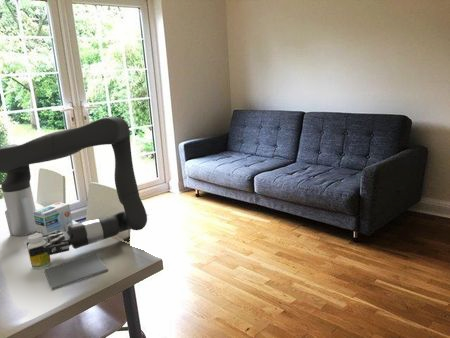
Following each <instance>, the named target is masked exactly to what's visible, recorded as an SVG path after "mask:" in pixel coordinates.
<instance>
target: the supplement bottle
mask: <svg viewBox="0 0 450 338" xmlns="http://www.w3.org/2000/svg"><path fill="white" fill-rule="evenodd" d="M27 240H28V242H29V244H28V246H27V245H26V248H28V249H27V252H28V258H29V261H30V265H31V268H32V269H33V270H39V269H45V268H48V266H49V265H50V264H51V263H52V261H51V255H48V253H47V254H45V253H43V254H39V255H36V256H33V257H31V256H30V254H29V250H30V249H32V248H36V247H39V246H43V245H46V244H47V242H46V241H45V240H43V235H42V234H41V233H38V232H37V233H32V234H29V236H28V237H27Z"/></svg>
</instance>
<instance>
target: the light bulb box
mask: <svg viewBox="0 0 450 338" xmlns="http://www.w3.org/2000/svg"><path fill="white" fill-rule="evenodd" d="M33 213H34V218H35V223H36V227H37V231H36V232H37V233H41V234H42V235H44V234H47V233H50V232H53V231H56V230H60V232H67V231H68V227H69V226H70V225H74V223H73V218H72V213H71V207H70V203H66V202H65V203H64V202H60V201H57V202H55V203H53V204H49V205H46V206H44V207H41V208H39V209H36V210H35V211H33ZM46 240H47V239H46Z"/></svg>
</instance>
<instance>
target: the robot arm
mask: <svg viewBox="0 0 450 338" xmlns="http://www.w3.org/2000/svg"><path fill="white" fill-rule="evenodd" d="M130 132H131V131H130V126H129V124H128V122H127V121H126V120H125V119H124V118H123V117H119V116H103V117H101V118H98V119H96V120H94V121H92V122H89V123H87V124H85V125H81V126H78V127H73V128H66V129H63V130H57V131H54V132H51V133H46V134H45V135H42V136H39V137H36V138H34V139H32V140H29V141H26V142H25V143H22V144H8V145H5V146H1V147H0V174H1V173H2V174H6V176H5V177H6V178H4V180H3V181H2V182H1V186H0V187H1V190H2V195H3V200H4V203H5V207H6V210H5V211H4V214H5V218H6V223H7V226H8V227H7V228H8V231H9V235H10V236H14V237H22V236H27V235H32V234H35V233H36V232H37V227H36V223H35V218H34V213H33V211H35V210H37V209H36V205H35V201H34V196H33V192H32V187H31V177H32V175H31V169H30V165H34V164H40V163H46V162H51V161H55V160H59V159H62V158H67V157H69V156H72V155H74V154H77V153H78V152H80V151H82V150H84V149H87V148H91V147H96V146H102V145H103V146H105V145H111V147H112V150H113V154H114V184H115V188H116V194H117V198H118V200H119V203H120V204H121V205H122V207H123V209H124V210H122V211H119V212H117V213H115V214H112V215H107V216H103V217H99V218H97V219H96V218H95V219H89V220H85V221H82V222H78V223H75V224H74V223H73V225H70V226H69V227H68V231H67V232H60V230H56V231H53V232H50V233H47V234H44V235H43V240H45V241H46V242H47V244H46V245H43V246H39V247H36V248H32V249H30V250H29V252H28V255H29V254H30V256H31V257H33V256H36V255H39V254H43V253H45V254H47V253H48V255H50V256H52V255H56V254H61V253H65V252H69V251H70V246H71V247H72V248H73V249H75V250H76V249H78V248H81V247H85V246H89V245H92V244H94V243H95V244H96V243H98V242H99V241H102V240H106V239H108V238H112V237H115V236H117V235H118V234H119V233H122V232H124V231H129V230H133V231H141V230H143V229H144V228H145V227H146V225H147V223H148V222H147V221H148V215H147V212H146V209H145V206H144V204H143V201H142V198H141V197H140V192H139V188H138V184H137V180H136V179H137V178H136V175H135V170H134V165H133V156H132V147H131V145H132V144H131V136H130V135H131V134H130ZM46 239H47V240H46ZM28 244H29V241H28V242H26V244H25V245H26V248H27V246H28ZM27 250H28V248H27Z"/></svg>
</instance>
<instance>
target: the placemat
mask: <svg viewBox="0 0 450 338" xmlns="http://www.w3.org/2000/svg"><path fill="white" fill-rule="evenodd" d="M108 271H109V270H108V268H107V266H106V265H105V263H104V262H103V261H102V260H101V259H100V257H99V256H98V255H97V254H96V253H95V252H94V253H91V254H87V255H85V256H81V257H78V258H75V259H72V260H70V261H66V262H62V263H60V264H57V265H54V266H51V267H46V268H43V272H44V274H45V276H46V278H47V281H48V283H49V286H50V287H51V290H52V291H53V290H56V289H59V288H62V287H64V286H67V285H70V284H73V283H74V284H75V283H77V282H79V281H81V280H85V279H87V278H91V277H94V276H96V275H99V274H103V273H105V272H108Z"/></svg>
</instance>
